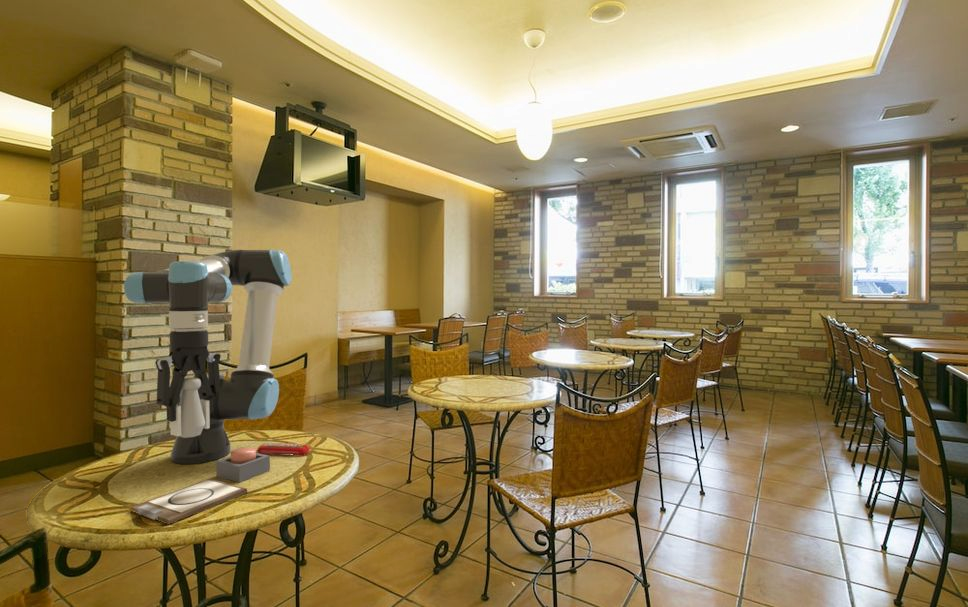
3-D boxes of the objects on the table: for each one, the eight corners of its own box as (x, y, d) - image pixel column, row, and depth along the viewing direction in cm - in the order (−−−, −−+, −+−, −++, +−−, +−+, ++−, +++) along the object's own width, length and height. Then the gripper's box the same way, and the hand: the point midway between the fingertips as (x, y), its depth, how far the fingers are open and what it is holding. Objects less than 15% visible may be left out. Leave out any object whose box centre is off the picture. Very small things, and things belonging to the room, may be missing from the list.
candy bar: (254, 455, 143) (254, 445, 143) (261, 451, 147) (261, 441, 147) (305, 457, 141) (305, 447, 141) (311, 453, 145) (311, 443, 145)
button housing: (216, 476, 126) (216, 461, 126) (247, 465, 134) (247, 451, 134) (239, 482, 122) (239, 466, 122) (269, 470, 130) (269, 455, 130)
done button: (225, 463, 126) (225, 452, 126) (246, 457, 132) (246, 446, 132) (240, 467, 124) (240, 455, 123) (261, 460, 129) (261, 449, 129)
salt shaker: (211, 432, 112) (210, 376, 111) (188, 439, 106) (188, 380, 106) (192, 430, 114) (191, 375, 113) (169, 437, 108) (168, 379, 108)
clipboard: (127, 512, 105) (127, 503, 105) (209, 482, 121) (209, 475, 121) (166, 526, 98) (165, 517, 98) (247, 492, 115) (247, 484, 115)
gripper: (154, 333, 99) (156, 445, 100) (237, 327, 116) (238, 423, 117) (134, 332, 103) (136, 440, 103) (217, 326, 120) (218, 419, 120)
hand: (190, 431), depth 110 cm, fingers closed on salt shaker, 6 cm apart
